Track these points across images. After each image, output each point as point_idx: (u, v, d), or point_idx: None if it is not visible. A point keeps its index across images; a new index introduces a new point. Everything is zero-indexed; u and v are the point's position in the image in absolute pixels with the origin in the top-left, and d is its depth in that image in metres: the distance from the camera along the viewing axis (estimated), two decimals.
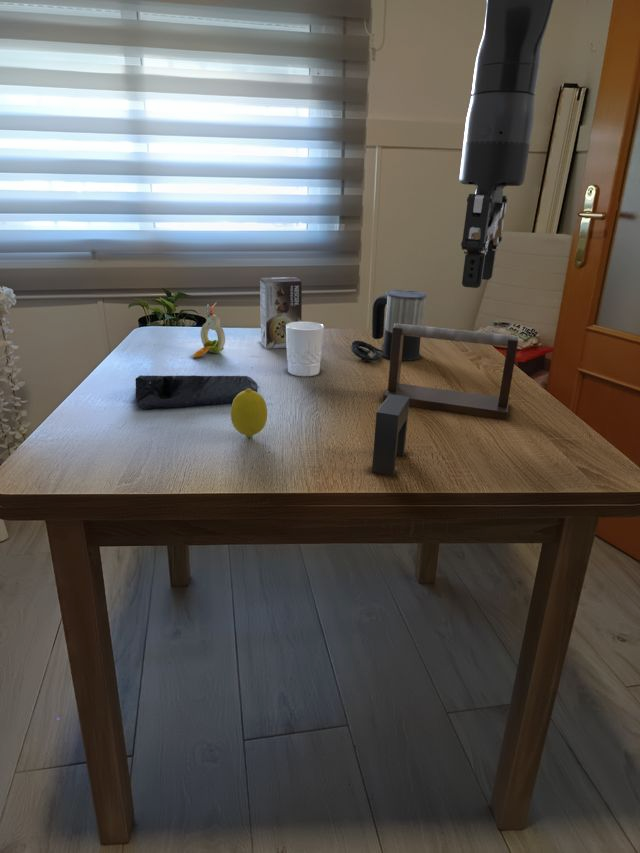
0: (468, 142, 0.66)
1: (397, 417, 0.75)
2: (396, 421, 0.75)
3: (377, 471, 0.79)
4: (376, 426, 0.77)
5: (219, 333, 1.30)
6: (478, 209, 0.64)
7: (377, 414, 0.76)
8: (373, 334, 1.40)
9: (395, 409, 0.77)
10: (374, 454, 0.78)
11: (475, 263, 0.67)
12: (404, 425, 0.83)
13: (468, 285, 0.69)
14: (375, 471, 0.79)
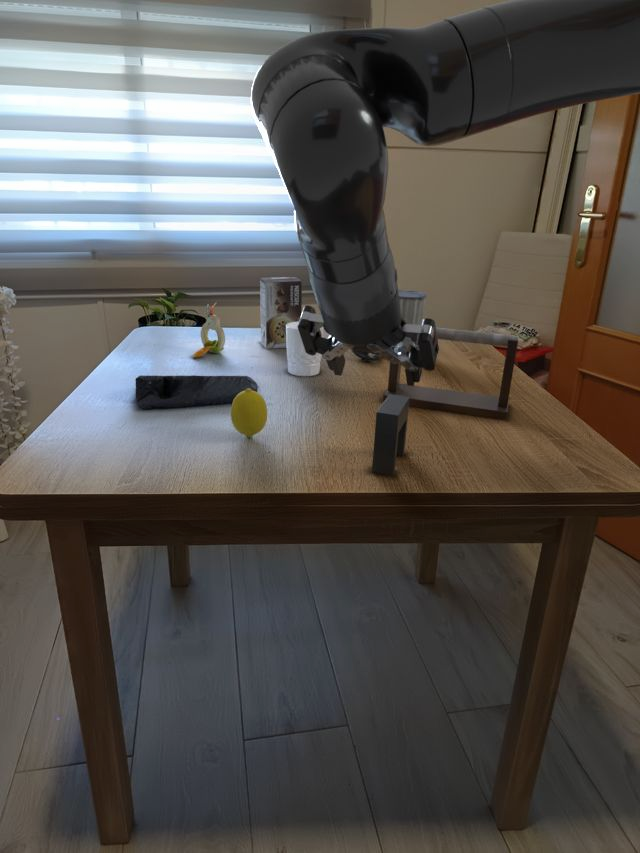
0: None
1: (397, 417, 0.75)
2: (396, 421, 0.75)
3: (377, 471, 0.79)
4: (376, 426, 0.77)
5: (219, 333, 1.30)
6: None
7: (377, 414, 0.76)
8: None
9: (395, 409, 0.77)
10: (374, 454, 0.78)
11: None
12: (404, 425, 0.83)
13: None
14: (375, 471, 0.79)
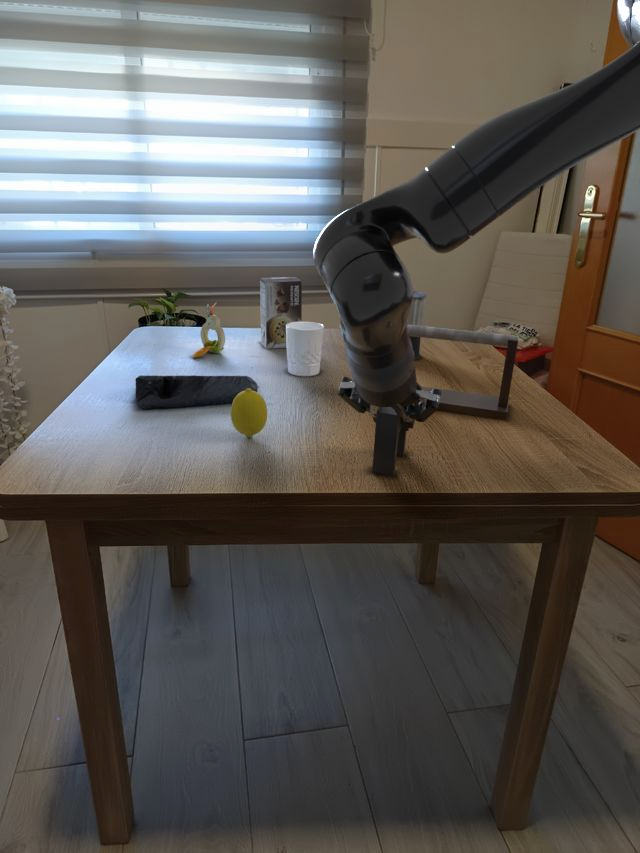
0: None
1: (397, 417, 0.75)
2: (396, 421, 0.75)
3: (377, 471, 0.79)
4: (376, 426, 0.77)
5: (219, 333, 1.30)
6: None
7: (377, 414, 0.76)
8: None
9: None
10: (374, 454, 0.78)
11: None
12: None
13: None
14: (375, 471, 0.79)
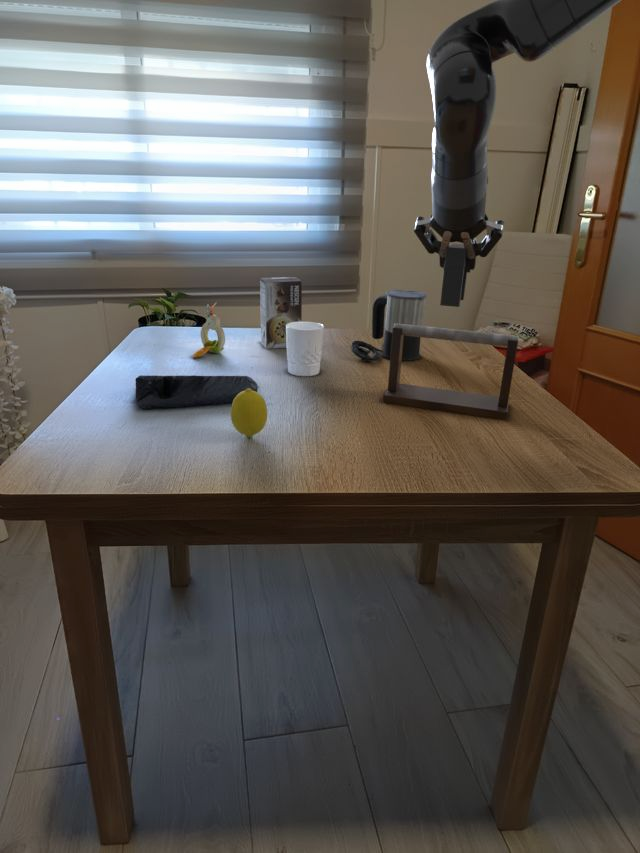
0: None
1: (465, 250, 0.88)
2: (464, 254, 0.89)
3: (445, 303, 0.92)
4: (446, 260, 0.90)
5: (219, 333, 1.30)
6: None
7: (447, 249, 0.89)
8: (373, 334, 1.40)
9: (461, 247, 0.90)
10: (443, 287, 0.91)
11: (440, 256, 0.94)
12: (465, 270, 0.96)
13: None
14: (443, 303, 0.92)
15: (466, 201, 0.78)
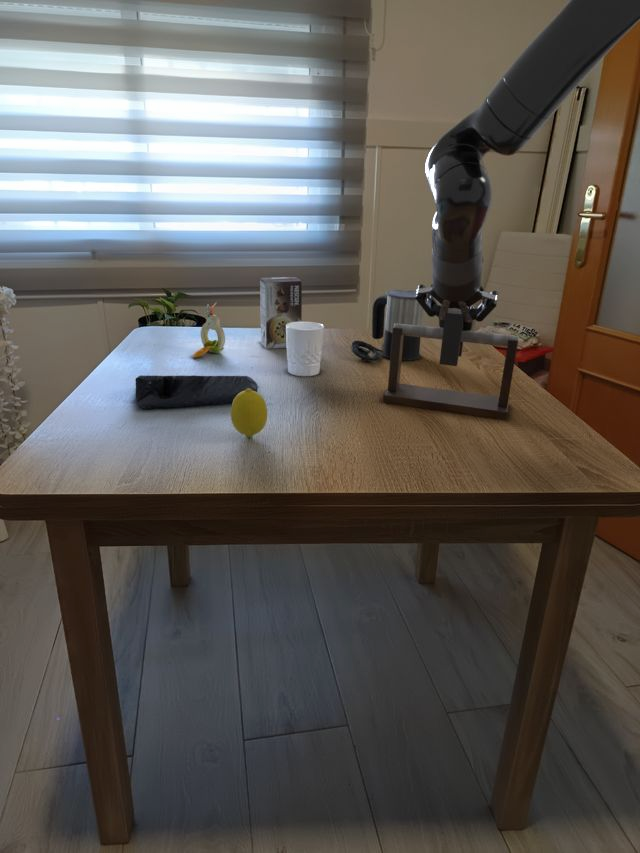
0: None
1: (462, 316, 0.96)
2: (461, 319, 0.96)
3: (444, 362, 1.00)
4: (444, 324, 0.97)
5: (219, 333, 1.30)
6: None
7: (446, 314, 0.97)
8: (373, 334, 1.40)
9: (459, 311, 0.98)
10: (442, 348, 0.99)
11: None
12: None
13: None
14: (442, 363, 1.00)
15: (463, 279, 0.85)
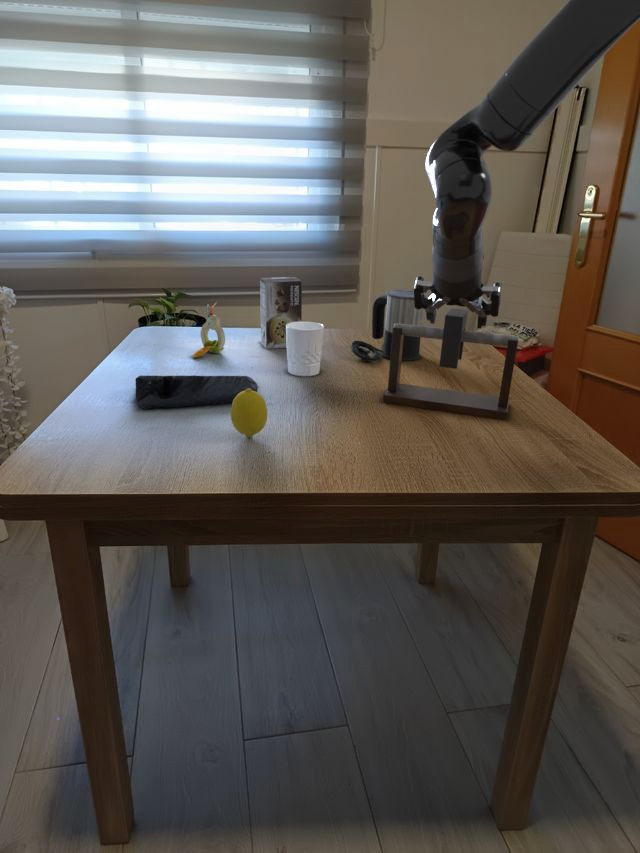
0: None
1: (462, 318, 0.96)
2: (461, 322, 0.96)
3: (443, 365, 1.00)
4: (444, 327, 0.98)
5: (219, 333, 1.30)
6: None
7: (446, 317, 0.97)
8: (373, 334, 1.40)
9: (459, 314, 0.98)
10: (442, 351, 0.99)
11: None
12: None
13: None
14: (442, 365, 1.00)
15: (463, 276, 0.85)
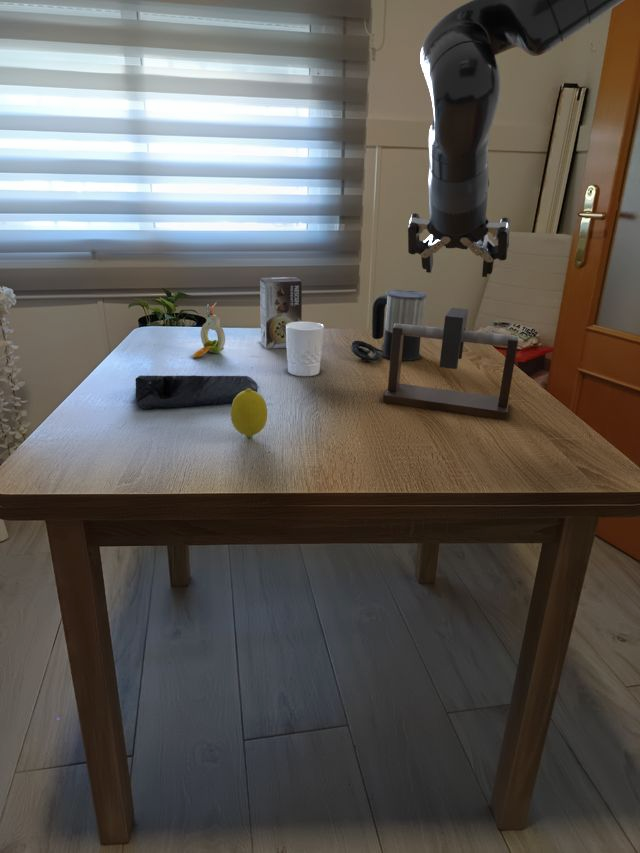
0: None
1: (462, 319, 0.96)
2: (461, 322, 0.96)
3: (444, 365, 1.00)
4: (444, 327, 0.98)
5: (219, 333, 1.30)
6: None
7: (446, 317, 0.97)
8: (373, 334, 1.40)
9: (459, 315, 0.98)
10: (442, 351, 0.99)
11: (422, 257, 0.88)
12: None
13: None
14: (442, 365, 1.00)
15: (466, 205, 0.72)
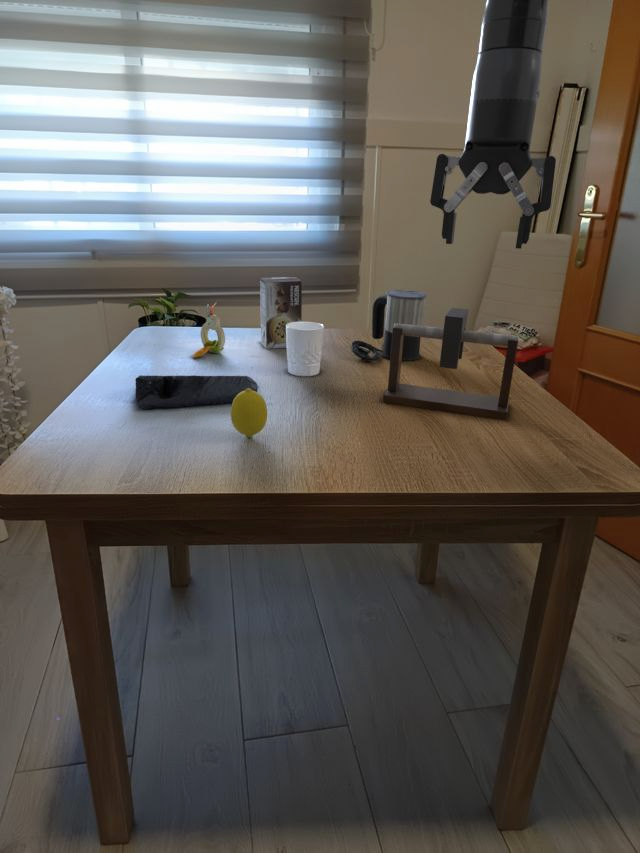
0: None
1: (462, 319, 0.96)
2: (461, 322, 0.96)
3: (444, 365, 1.00)
4: (444, 327, 0.98)
5: (219, 333, 1.30)
6: None
7: (446, 317, 0.97)
8: (373, 334, 1.40)
9: (459, 314, 0.98)
10: (442, 351, 0.99)
11: None
12: None
13: None
14: (442, 365, 1.00)
15: (517, 86, 0.63)
